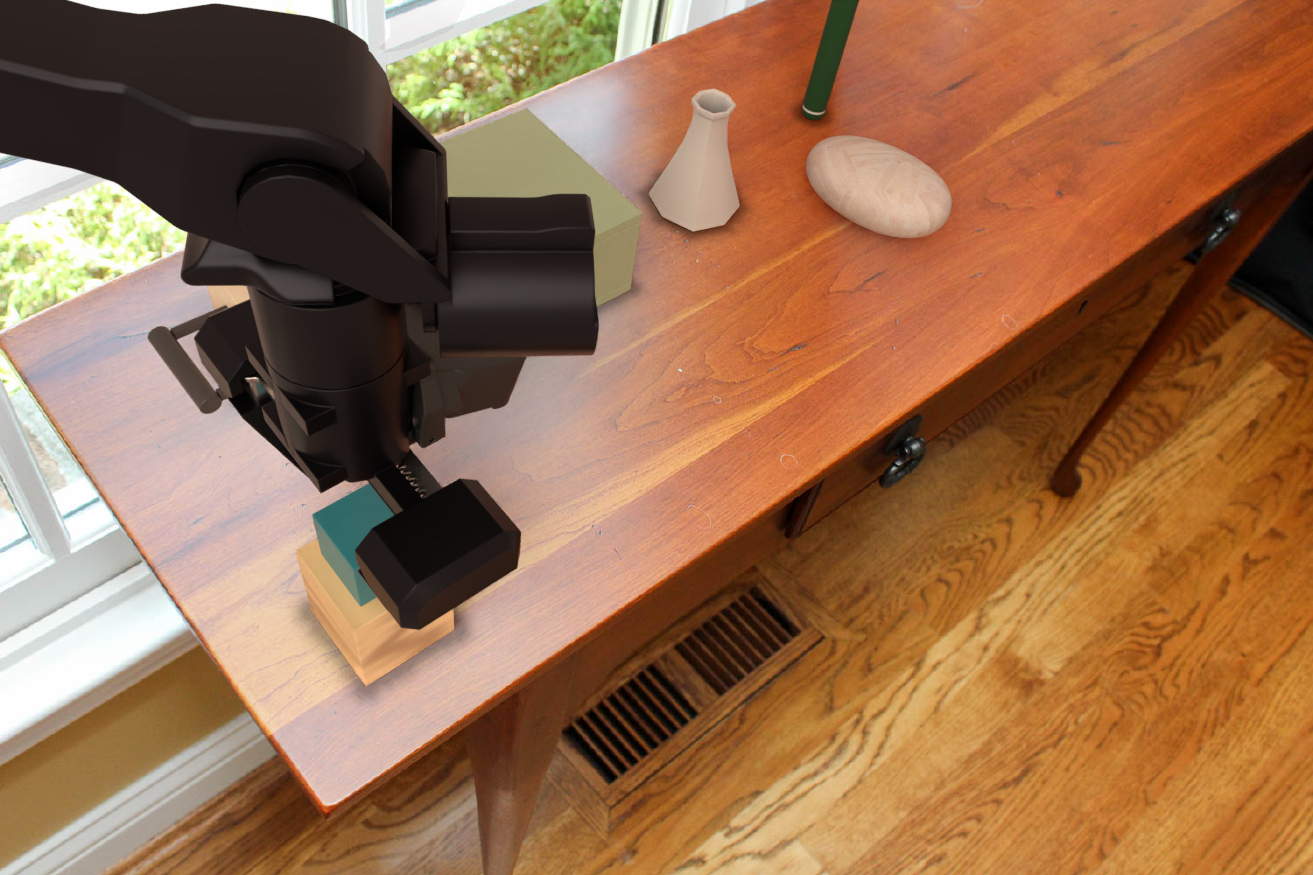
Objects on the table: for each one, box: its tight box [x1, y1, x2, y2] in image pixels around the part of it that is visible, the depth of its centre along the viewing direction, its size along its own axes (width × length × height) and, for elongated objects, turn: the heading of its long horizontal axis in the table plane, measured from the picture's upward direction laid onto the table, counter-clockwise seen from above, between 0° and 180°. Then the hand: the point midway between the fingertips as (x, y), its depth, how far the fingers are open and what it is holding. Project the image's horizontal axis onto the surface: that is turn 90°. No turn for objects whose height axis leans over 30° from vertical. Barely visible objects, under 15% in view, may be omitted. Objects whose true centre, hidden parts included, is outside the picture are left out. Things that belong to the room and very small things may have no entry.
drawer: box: [147, 286, 250, 415], centre depth 71 cm, size 20×13×6 cm, turn 130°
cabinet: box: [438, 107, 643, 308], centre depth 78 cm, size 16×14×8 cm
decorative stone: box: [805, 134, 953, 239], centre depth 89 cm, size 13×9×5 cm
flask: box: [648, 87, 741, 232], centre depth 85 cm, size 7×7×10 cm
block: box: [311, 483, 394, 606], centre depth 56 cm, size 4×4×4 cm
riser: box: [295, 537, 455, 687], centre depth 61 cm, size 6×6×7 cm
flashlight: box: [801, 0, 860, 122], centre depth 90 cm, size 5×5×20 cm
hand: (367, 536), depth 56 cm, fingers open, 9 cm apart
